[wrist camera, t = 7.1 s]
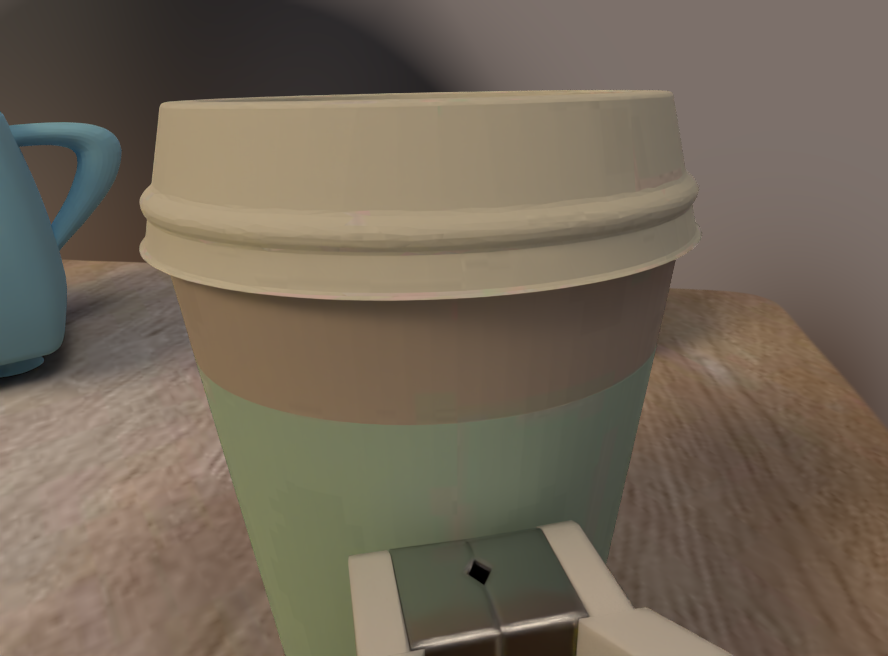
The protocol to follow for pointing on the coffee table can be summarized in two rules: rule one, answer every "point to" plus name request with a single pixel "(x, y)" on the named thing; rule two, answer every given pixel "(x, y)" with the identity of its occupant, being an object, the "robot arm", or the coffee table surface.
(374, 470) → the coffee cup
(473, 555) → the robot arm
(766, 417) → the coffee table surface
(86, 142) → the teapot
